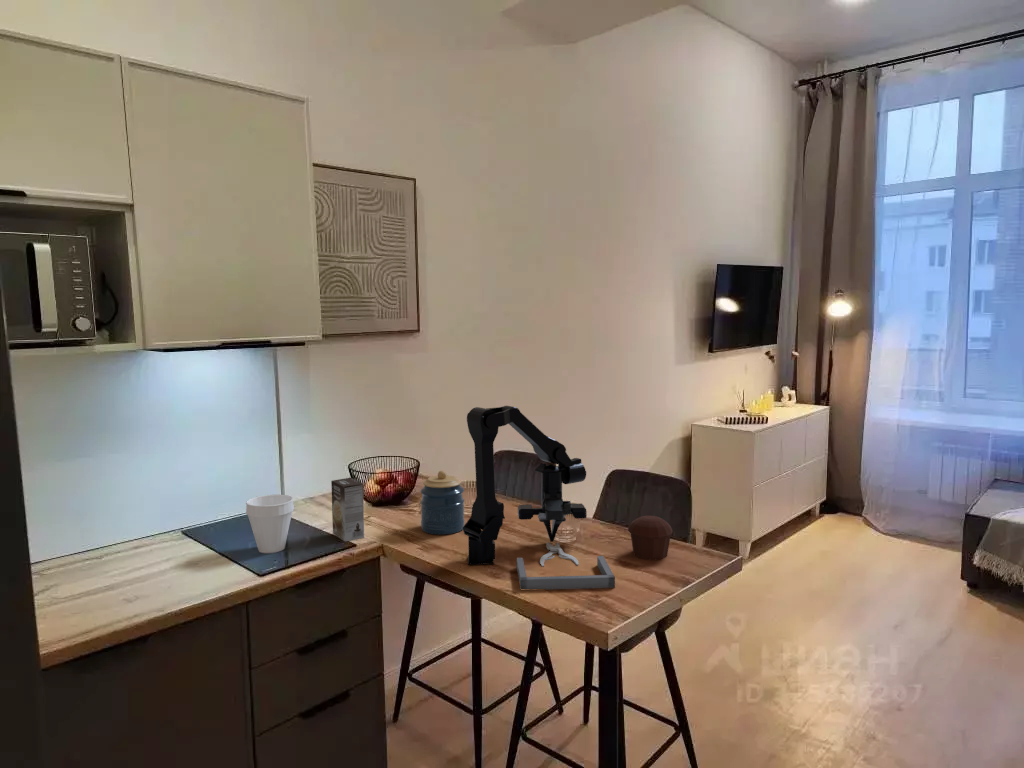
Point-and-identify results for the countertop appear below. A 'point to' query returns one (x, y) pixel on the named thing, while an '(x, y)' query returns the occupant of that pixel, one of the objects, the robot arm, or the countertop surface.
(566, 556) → the pliers
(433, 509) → the canister
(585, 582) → the tool holder
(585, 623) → the countertop surface
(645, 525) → the muffin
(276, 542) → the white flower pot
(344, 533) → the coffee box
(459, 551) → the countertop surface
